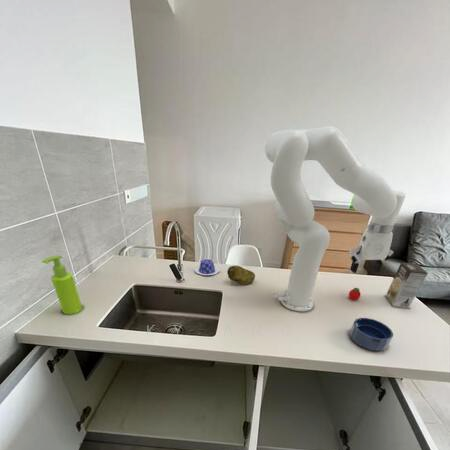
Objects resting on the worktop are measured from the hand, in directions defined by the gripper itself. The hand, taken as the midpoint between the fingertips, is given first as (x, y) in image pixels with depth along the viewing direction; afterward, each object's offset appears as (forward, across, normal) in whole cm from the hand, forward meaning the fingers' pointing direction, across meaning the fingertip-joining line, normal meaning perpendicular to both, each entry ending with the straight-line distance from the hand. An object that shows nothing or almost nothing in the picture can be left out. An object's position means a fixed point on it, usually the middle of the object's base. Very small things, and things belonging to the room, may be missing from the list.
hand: (364, 271), depth 96 cm
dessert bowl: (+12, -11, -26) cm, 31 cm away
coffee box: (+13, +17, -3) cm, 22 cm away
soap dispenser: (+11, -111, -6) cm, 111 cm away
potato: (+12, -47, +15) cm, 50 cm away
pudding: (+12, -62, +27) cm, 68 cm away
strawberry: (+13, -1, 0) cm, 13 cm away
